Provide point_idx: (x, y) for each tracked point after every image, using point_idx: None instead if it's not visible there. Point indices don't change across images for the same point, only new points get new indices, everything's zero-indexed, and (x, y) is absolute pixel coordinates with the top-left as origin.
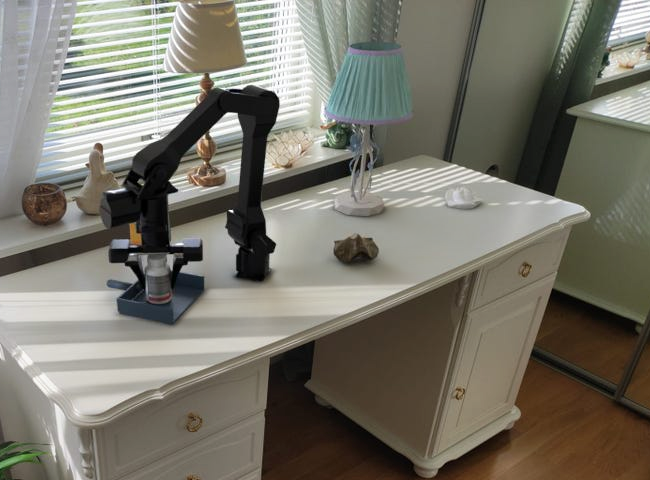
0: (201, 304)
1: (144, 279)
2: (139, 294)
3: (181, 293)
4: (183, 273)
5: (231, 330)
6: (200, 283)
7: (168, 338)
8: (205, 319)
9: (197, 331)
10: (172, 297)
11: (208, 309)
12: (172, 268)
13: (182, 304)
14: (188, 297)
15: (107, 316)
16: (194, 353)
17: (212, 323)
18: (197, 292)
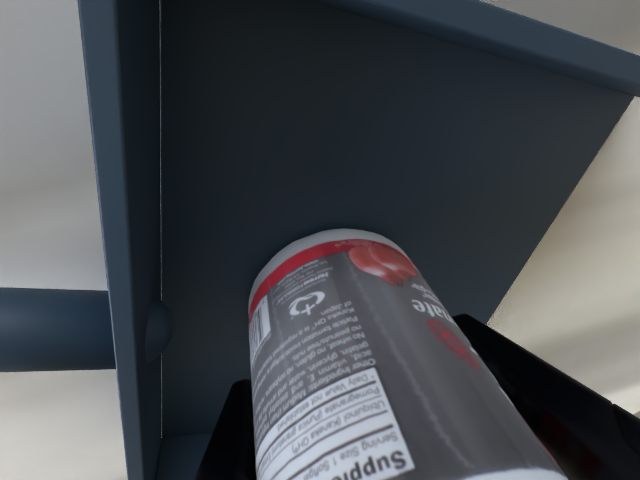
0: (559, 255)
1: (255, 476)
2: (170, 279)
3: (470, 193)
4: (607, 75)
5: (611, 372)
6: None
7: None
8: (546, 350)
9: None
10: (411, 255)
11: (579, 286)
12: (596, 472)
13: (468, 304)
14: (509, 230)
15: (118, 459)
16: None
17: (564, 362)
18: (578, 153)
